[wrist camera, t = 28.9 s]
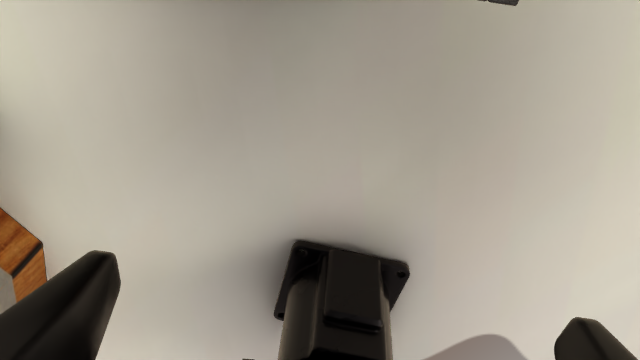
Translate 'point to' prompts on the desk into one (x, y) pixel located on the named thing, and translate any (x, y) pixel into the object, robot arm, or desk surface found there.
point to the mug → (18, 262)
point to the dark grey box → (504, 2)
